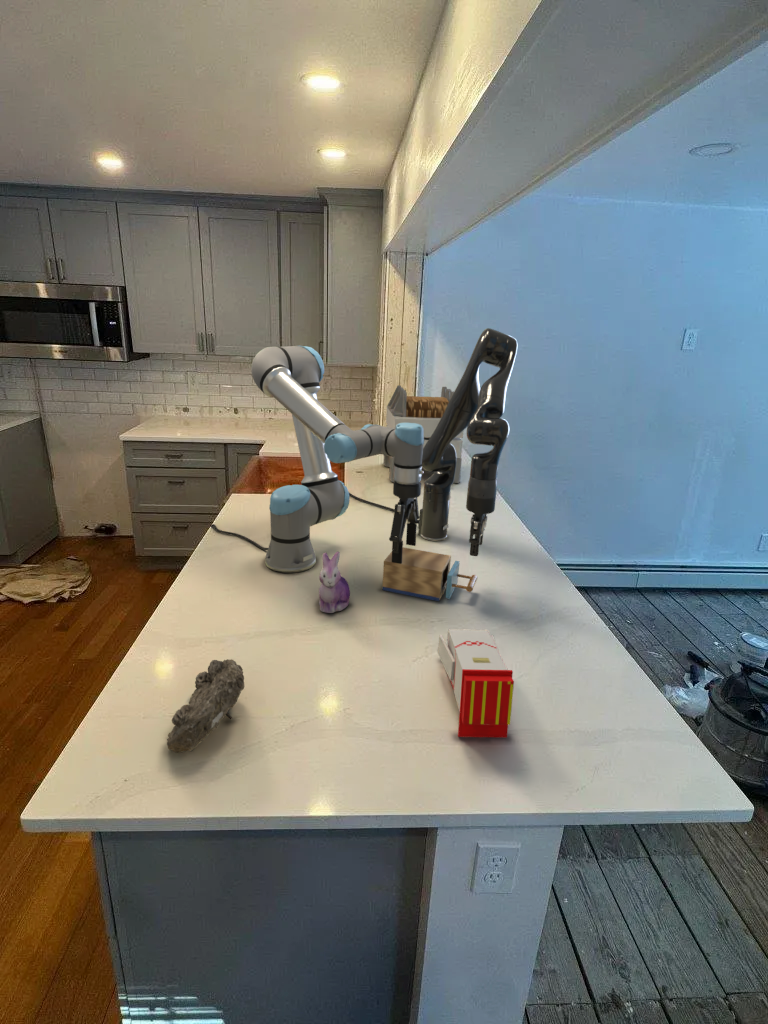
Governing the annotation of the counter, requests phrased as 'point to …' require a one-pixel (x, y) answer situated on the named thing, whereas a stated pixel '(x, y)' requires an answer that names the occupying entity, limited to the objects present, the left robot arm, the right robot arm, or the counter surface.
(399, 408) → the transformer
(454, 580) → the drawer
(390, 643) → the counter surface
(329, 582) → the figurine
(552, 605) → the counter surface
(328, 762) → the counter surface
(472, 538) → the right robot arm
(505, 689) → the toy
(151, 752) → the counter surface
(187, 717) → the fossil
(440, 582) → the cabinet
